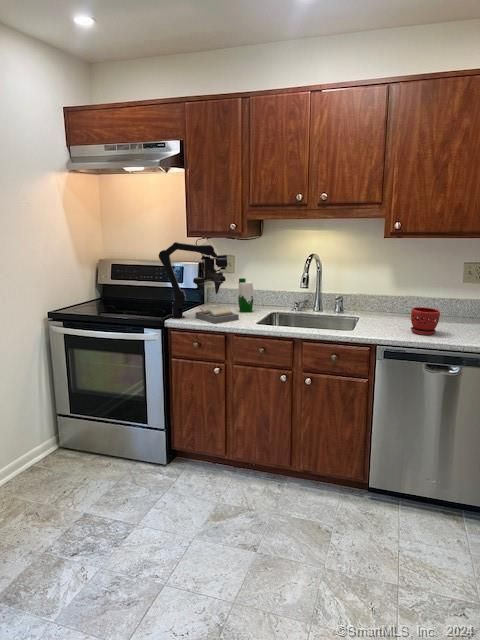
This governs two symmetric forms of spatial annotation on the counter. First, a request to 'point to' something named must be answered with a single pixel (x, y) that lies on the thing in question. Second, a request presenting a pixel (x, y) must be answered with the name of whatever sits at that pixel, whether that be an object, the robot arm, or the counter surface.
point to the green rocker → (220, 311)
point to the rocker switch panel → (217, 317)
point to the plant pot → (424, 320)
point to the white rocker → (206, 308)
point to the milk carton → (245, 295)
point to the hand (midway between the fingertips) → (209, 294)
